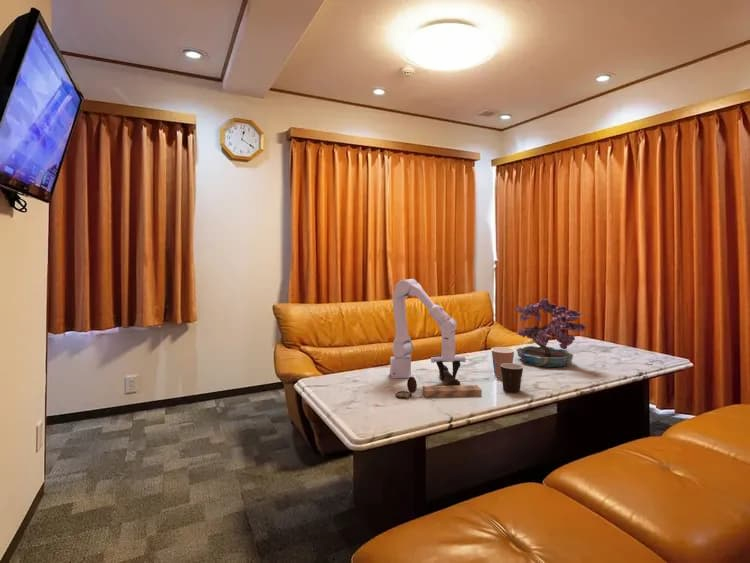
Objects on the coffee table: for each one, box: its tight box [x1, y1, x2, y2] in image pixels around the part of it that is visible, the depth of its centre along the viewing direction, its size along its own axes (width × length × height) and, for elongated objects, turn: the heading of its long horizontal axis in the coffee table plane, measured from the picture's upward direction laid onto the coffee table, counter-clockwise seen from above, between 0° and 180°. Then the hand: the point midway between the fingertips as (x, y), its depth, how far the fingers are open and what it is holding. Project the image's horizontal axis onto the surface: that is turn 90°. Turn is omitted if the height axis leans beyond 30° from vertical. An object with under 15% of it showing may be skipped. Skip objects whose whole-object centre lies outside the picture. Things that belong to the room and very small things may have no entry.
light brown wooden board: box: [422, 384, 483, 399], centre depth 162 cm, size 22×6×3 cm, turn 93°
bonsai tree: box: [515, 298, 586, 368], centre depth 205 cm, size 35×27×32 cm
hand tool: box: [438, 364, 461, 386], centre depth 176 cm, size 23×5×6 cm, turn 2°
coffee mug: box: [501, 362, 524, 394], centre depth 165 cm, size 12×9×10 cm
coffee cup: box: [490, 346, 516, 379], centre depth 186 cm, size 10×10×12 cm
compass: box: [395, 376, 418, 400], centre depth 159 cm, size 8×8×7 cm
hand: (448, 378), depth 175 cm, fingers open, 4 cm apart
